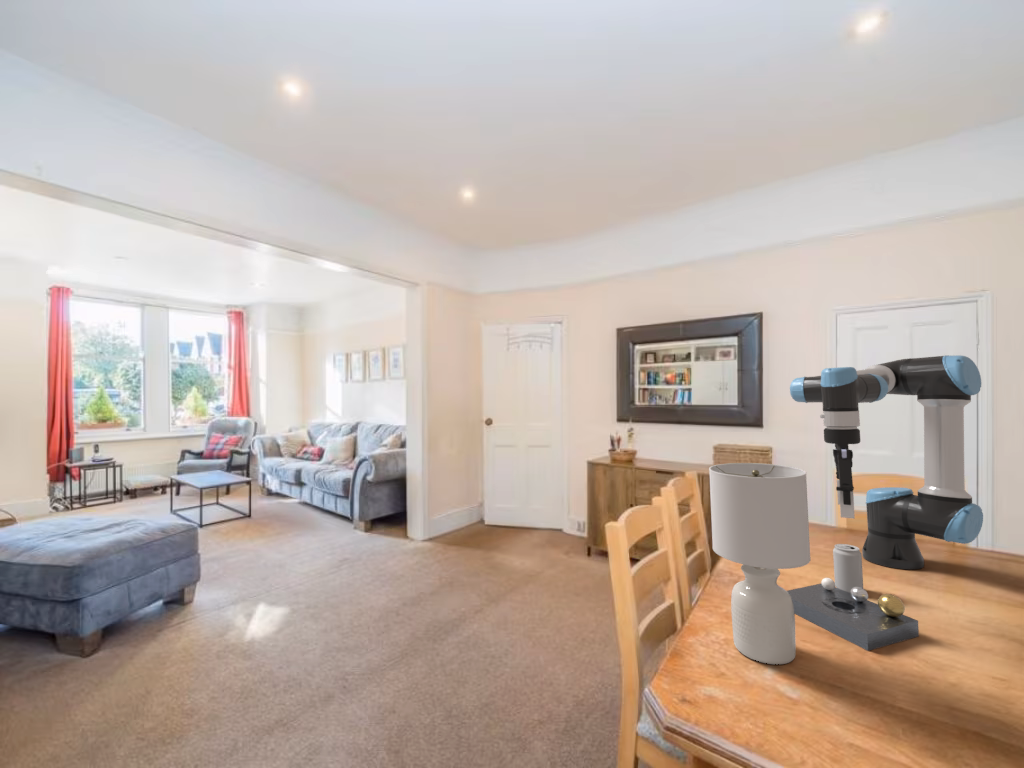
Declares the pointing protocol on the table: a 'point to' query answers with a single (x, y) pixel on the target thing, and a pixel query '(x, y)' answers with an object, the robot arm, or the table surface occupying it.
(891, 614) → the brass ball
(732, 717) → the table surface
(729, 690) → the table surface
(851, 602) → the plate
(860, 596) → the steel ball
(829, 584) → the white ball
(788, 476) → the lamp
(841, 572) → the beverage can
